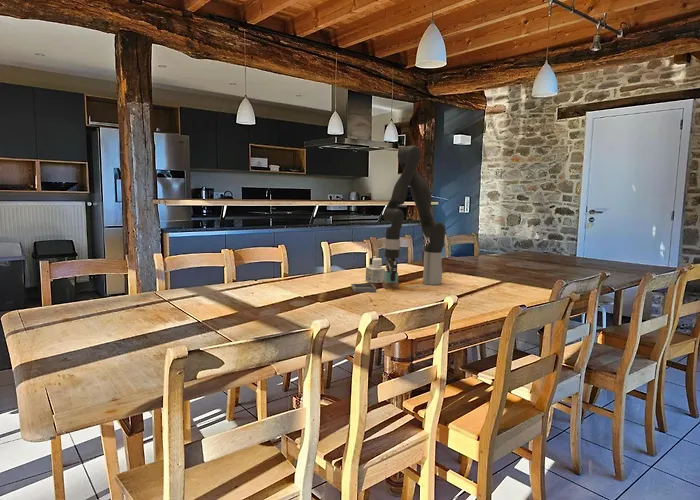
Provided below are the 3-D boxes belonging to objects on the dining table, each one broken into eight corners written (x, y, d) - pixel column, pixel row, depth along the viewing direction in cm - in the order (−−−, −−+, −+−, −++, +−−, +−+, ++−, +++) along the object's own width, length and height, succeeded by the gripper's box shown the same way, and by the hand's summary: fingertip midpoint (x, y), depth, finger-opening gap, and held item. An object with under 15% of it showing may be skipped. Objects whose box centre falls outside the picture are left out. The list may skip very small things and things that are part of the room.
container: (365, 280, 260) (366, 256, 258) (377, 279, 263) (378, 256, 262) (371, 283, 253) (372, 259, 251) (384, 282, 256) (385, 258, 255)
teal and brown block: (395, 286, 248) (396, 268, 247) (398, 288, 241) (399, 271, 240) (382, 286, 247) (383, 268, 246) (385, 288, 240) (386, 271, 239)
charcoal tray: (371, 287, 243) (372, 283, 242) (376, 292, 232) (376, 288, 232) (351, 287, 241) (351, 283, 241) (354, 292, 231) (354, 288, 230)
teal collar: (394, 280, 247) (395, 270, 247) (397, 282, 242) (398, 273, 241) (383, 280, 246) (384, 270, 246) (386, 282, 241) (386, 273, 240)
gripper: (403, 249, 235) (401, 282, 237) (396, 246, 249) (394, 276, 251) (388, 249, 234) (386, 282, 236) (381, 245, 248) (380, 276, 250)
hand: (390, 279), depth 244 cm, fingers open, 8 cm apart
